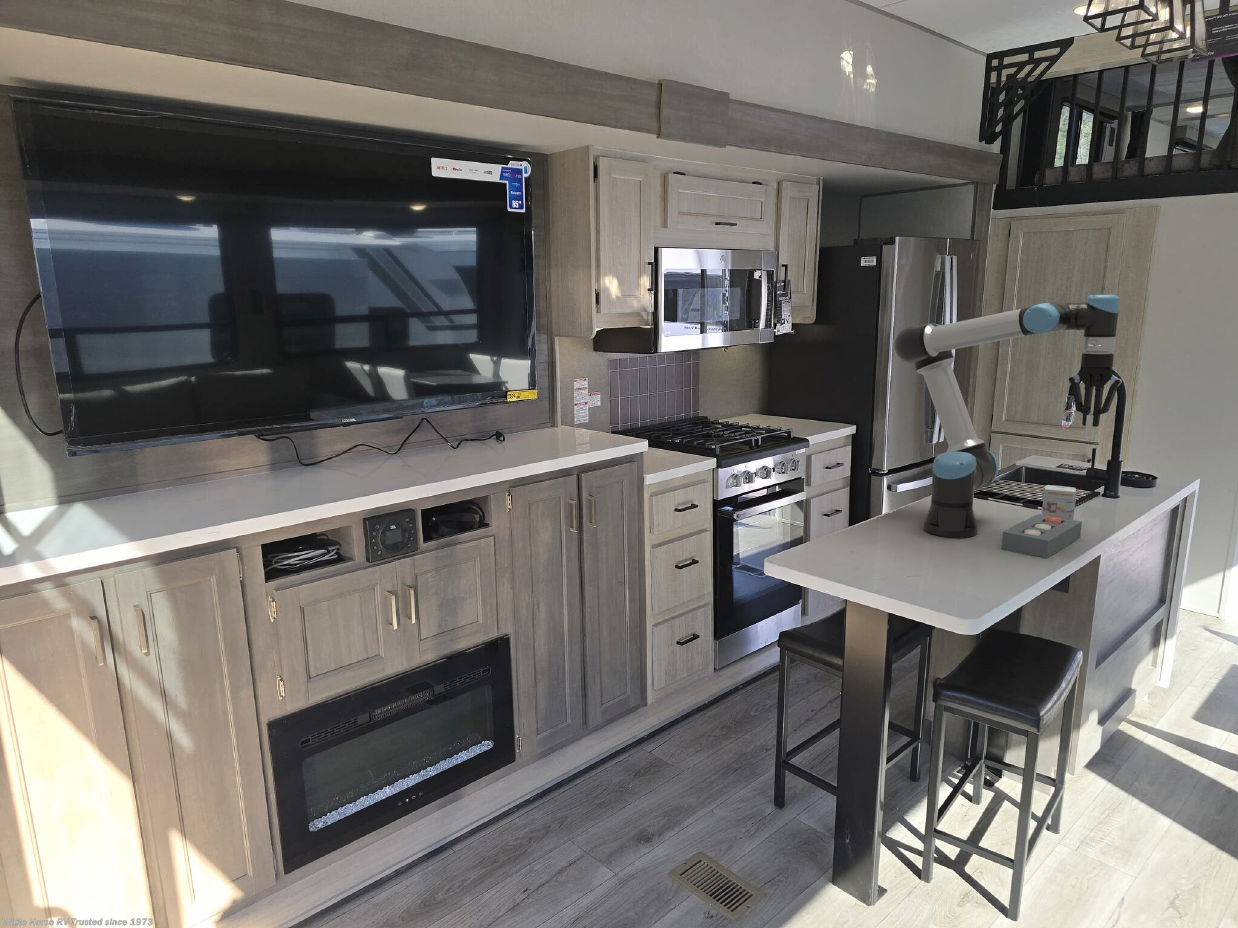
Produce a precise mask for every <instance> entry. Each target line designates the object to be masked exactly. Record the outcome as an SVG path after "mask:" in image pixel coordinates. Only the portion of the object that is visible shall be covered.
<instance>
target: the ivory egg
mask: <svg viewBox="0 0 1238 928" xmlns="http://www.w3.org/2000/svg"><path fill="white" fill-rule="evenodd" d="M1024 533H1026V534H1031V535H1036V536H1039V535H1040V534H1041V532H1040V531H1038V530H1033V529H1027V530H1025V531H1024Z"/></svg>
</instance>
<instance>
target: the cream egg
mask: <svg viewBox="0 0 1238 928" xmlns="http://www.w3.org/2000/svg"><path fill="white" fill-rule="evenodd" d="M1035 528H1040V529H1045V530H1050V529H1051V526H1050V525H1047V524H1036V525H1035Z"/></svg>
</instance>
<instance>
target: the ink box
mask: <svg viewBox="0 0 1238 928" xmlns="http://www.w3.org/2000/svg"><path fill="white" fill-rule="evenodd" d="M1043 487H1044V488H1043V498H1042V499H1043V500H1042V506H1041V507H1042V509H1041V514H1042V515H1048V516H1057V517H1060V518H1065V519H1070V520H1075V519H1074V516H1075V507H1076V499H1077V489H1076V487H1071V486H1063V485H1053V484H1052V485H1049V484H1047V485H1044V486H1043Z"/></svg>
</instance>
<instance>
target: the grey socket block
mask: <svg viewBox="0 0 1238 928" xmlns="http://www.w3.org/2000/svg"><path fill="white" fill-rule="evenodd" d="M1046 516H1048V515H1042V513H1036V514H1035V515H1033V516H1031V517H1028V518H1027V519H1024V520H1023V521H1022V522H1019V523H1017V524H1015V525H1013V526H1012V527H1009V528H1007V529H1005V530H1003V531H1002V536H1001V537H1002V539H1001V550H1007V551H1011V552H1015V553H1020V554H1025V555H1029V556H1034V557H1039V558H1043V559H1048V558H1050V557H1051V556H1053V555H1055V554H1056V553H1058V552H1060V551H1061V550H1064V549H1065V548H1066V547H1068V546H1069V545H1071V544H1072V543H1074V542H1077V541H1078V540H1079V539H1081V532H1082V523H1083V521H1081V520H1075V519H1073V520H1070V519H1065V518H1061V524H1053V523H1048V522H1045V519H1046ZM1036 524H1047V525H1050V526H1051V529H1050V530H1045V529H1040V528H1035V525H1036ZM1027 529H1033V530H1038V531H1040V532H1041V534H1040V535H1039V536H1036V535H1031V534H1026V533H1024V531H1025V530H1027Z"/></svg>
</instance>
